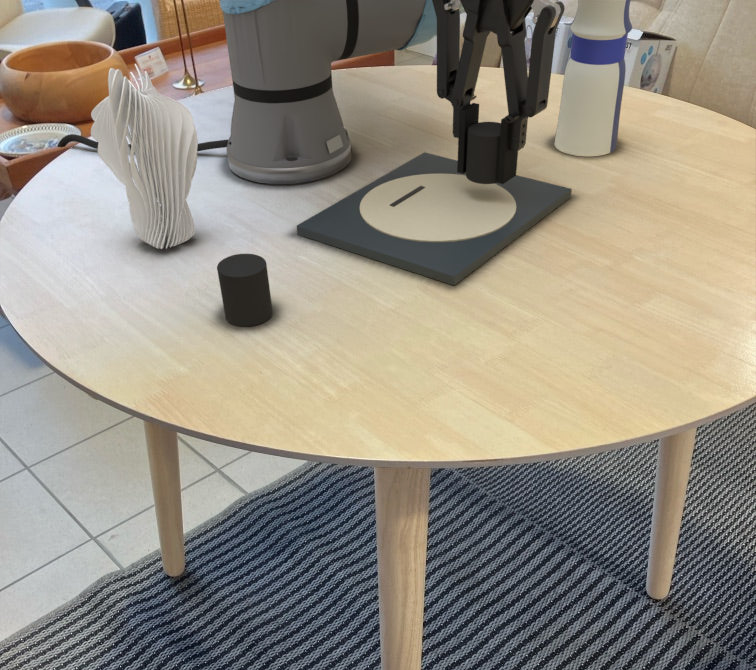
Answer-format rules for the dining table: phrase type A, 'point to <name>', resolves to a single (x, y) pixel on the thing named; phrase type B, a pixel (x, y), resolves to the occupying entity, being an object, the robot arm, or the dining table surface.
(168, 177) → the white ribbed sculpture
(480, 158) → the stamp
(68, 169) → the dining table surface
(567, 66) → the water bottle
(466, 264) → the board
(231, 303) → the stamp
